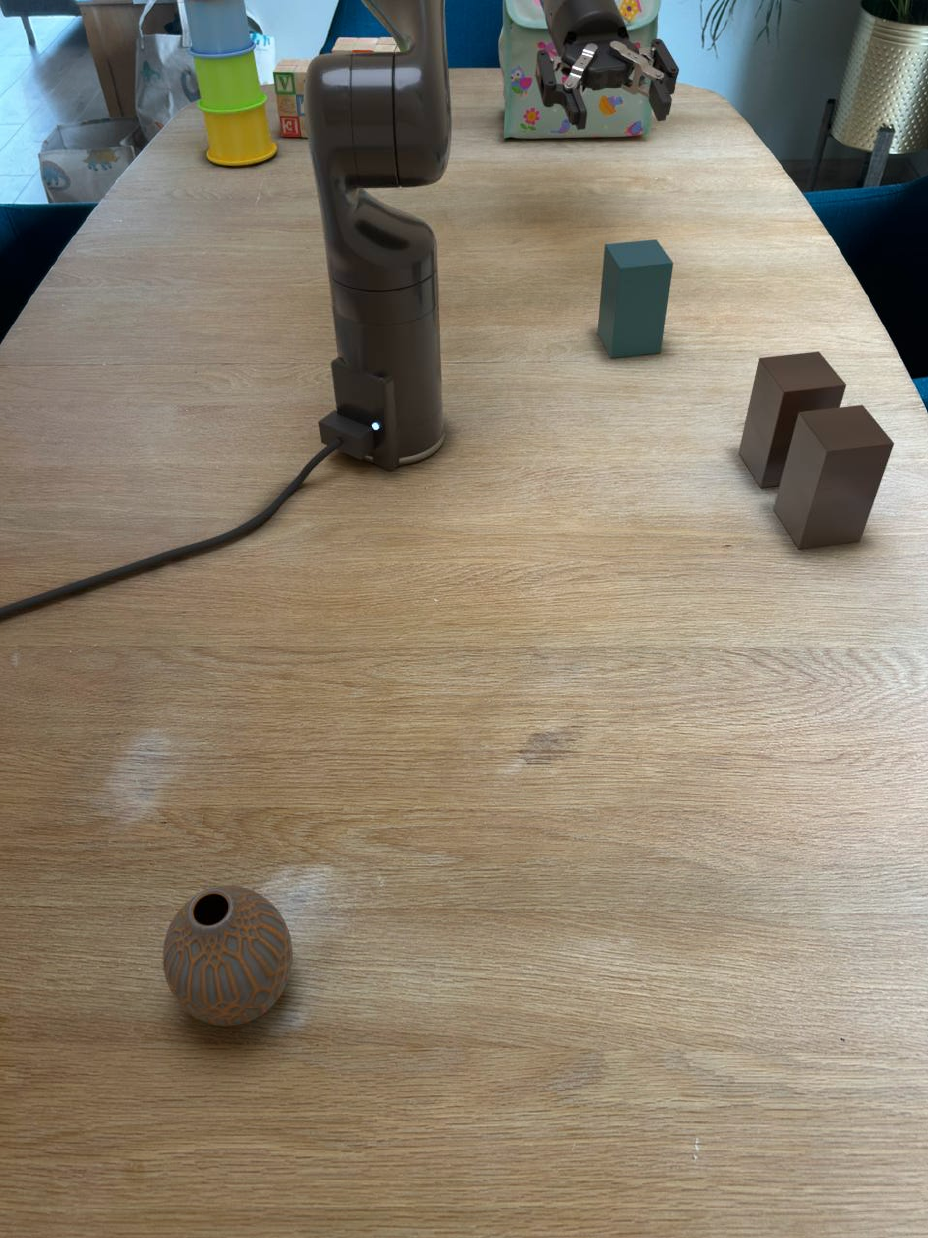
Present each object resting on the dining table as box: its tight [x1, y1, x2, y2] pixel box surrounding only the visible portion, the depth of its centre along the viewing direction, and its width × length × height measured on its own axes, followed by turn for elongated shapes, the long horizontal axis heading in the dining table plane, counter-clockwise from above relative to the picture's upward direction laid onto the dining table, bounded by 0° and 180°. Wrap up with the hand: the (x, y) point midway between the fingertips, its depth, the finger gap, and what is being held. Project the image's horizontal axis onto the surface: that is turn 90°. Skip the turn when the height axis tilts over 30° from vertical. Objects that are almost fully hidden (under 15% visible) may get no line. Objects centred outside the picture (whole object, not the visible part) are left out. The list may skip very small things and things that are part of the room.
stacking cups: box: [183, 0, 278, 167], centre depth 135 cm, size 10×10×35 cm
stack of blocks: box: [272, 36, 401, 138], centre depth 149 cm, size 21×6×12 cm, turn 84°
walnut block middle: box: [738, 351, 847, 489], centre depth 88 cm, size 6×6×10 cm
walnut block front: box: [773, 404, 895, 550], centre depth 82 cm, size 6×6×10 cm
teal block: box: [596, 238, 674, 359], centre depth 104 cm, size 6×6×10 cm
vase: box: [162, 885, 294, 1027], centre depth 55 cm, size 7×7×9 cm
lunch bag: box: [498, 0, 662, 140], centre depth 144 cm, size 23×16×27 cm
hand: (623, 117), depth 101 cm, fingers open, 8 cm apart
